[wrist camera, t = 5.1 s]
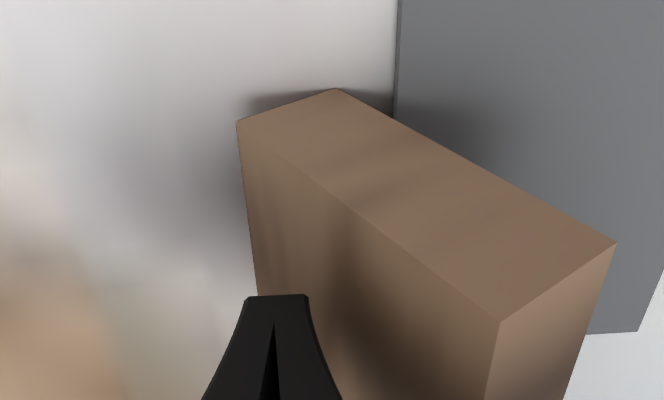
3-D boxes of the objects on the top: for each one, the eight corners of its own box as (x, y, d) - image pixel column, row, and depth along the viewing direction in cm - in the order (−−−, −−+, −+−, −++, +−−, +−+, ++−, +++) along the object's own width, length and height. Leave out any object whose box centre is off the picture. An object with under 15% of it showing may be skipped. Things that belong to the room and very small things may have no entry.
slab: (339, 283, 19) (539, 466, 14) (261, 324, 18) (451, 546, 12) (336, 87, 15) (617, 242, 10) (235, 121, 14) (500, 322, 8)
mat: (629, 318, 21) (637, 331, 21) (382, 332, 21) (384, 345, 20) (767, -25, 14) (785, -18, 14) (399, -12, 14) (402, -5, 13)
